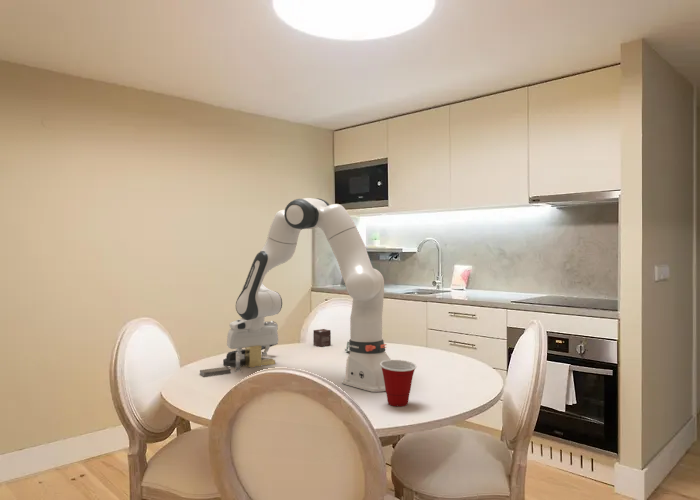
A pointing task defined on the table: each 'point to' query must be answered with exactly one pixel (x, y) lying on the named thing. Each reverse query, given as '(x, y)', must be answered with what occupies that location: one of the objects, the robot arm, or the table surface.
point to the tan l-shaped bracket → (255, 357)
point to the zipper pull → (231, 358)
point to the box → (322, 337)
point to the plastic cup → (397, 380)
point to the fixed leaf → (221, 369)
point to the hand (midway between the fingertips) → (253, 357)
